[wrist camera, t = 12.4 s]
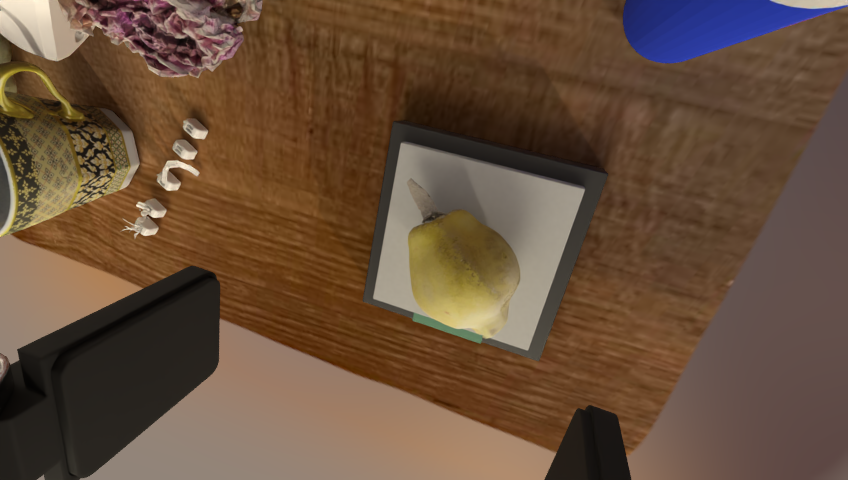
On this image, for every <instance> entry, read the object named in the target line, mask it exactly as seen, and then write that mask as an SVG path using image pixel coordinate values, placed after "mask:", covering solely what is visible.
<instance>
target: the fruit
mask: <svg viewBox="0 0 848 480" xmlns="http://www.w3.org/2000/svg"><path fill="white" fill-rule="evenodd" d="M407 185H408V187H409V190H410V193H411V195H412V197H413V200H414V202H415V203H416V205H417V207H418V209H419V210H420V211H421V215H422V217H423V221H422V223H424V224H421V225H418V226H416V227H413V228H412V230H411V231H410V232H409V235H408V247H409V268H410V277H411V287H412V292H413V296H414V298H415V301H416V303H417V304H418V306H419V307H420V308H421V309H422V311H423V312H425V313H426V314H427V315H428V316H430V317H431V318H433V319H435V320H437V321H439V322H441V323H443V324H445V325H447V326H450V327H453V328H455V329H463V328H471V329H473V330H474V331H475V332H476V333H477V334H482V335H483V336H482V337H483V338H485V339H487V338H490V337H493V336H494V335H495V334H496V333H498V332H499V331H500V330H501V329H502V328H503V327H504V325H505V324H506V322H507V320H508V313H509V303H510V299H511V297H512V296H513V294H514V293H515V291H516V289H517V287H518V285H519V282H520V267H519V263H518V260H517V257H516V255H515V253H514V251H513V249H512V248H511V247H510V245H509V244H508V243H507V242H506V240H505V239H504V238H503V237H502V236H501V235H500V234H499V233H498V232H496V231H495V230H493V229H491V228H490V227H488V226H486V225H483V224H482V223H480V222H479V221H478V220H477V219H476V218H475V217H474V216H473V215H472V214H470V213H469V212H467V211H466V210H464V209H455V210H452V211H451V212H449V213H443V212H440V211H438V209H437V208H436V206H435V203H434V201H433V200H432V198H431V197H430V195H429V194H428V193H427V191H426V190H425V189H423V188H422V187H421V186H420V185H418V184H417V183H416V182H415V181H414V180H413V179H412V178H410V179H409V180H408V181H407ZM435 219H436V220H435ZM433 220H434V221H433ZM425 221H429V223H425ZM430 221H432V222H430Z"/></svg>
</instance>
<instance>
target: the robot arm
mask: <svg viewBox="0 0 848 480" xmlns="http://www.w3.org/2000/svg"><path fill="white" fill-rule="evenodd" d="M219 319H220V283H219V281H218V280H217V278H216V275H215V274H214V273H213V272H210V271H207V270H204V269H202V268H199V267H196V266H190V267H187V268H185V269H183V270H181V271H179V272H177V273H175V274H173V275H171V276H169V277H167V278H164V279H162V280H160V281H158V282H156V283H154V284H152V285H150V286H148V287H146V288H144V289H142V290H140V291H138V292H136V293H134V294H131V295H129V296H127V297H125V298H123V299H121V300H119V301H117V302H115V303H113V304H111V305H109V306H106V307H104V308H102V309H101V310H98V311H96V312H94V313H92V314H90V315H88V316H86V317H84V318H82V319H80V320H77V321H76V322H73V323H71V324H69V325H67V326H65V327H63V328H61V329H59V330H57V331H55V332H53V333H51V334H49V335H46V336H44V337H42V338H40V339H38V340H36V341H34V342H32V343H30V344H28V345H26V346H24V347H22V348H20V349H17V351H18V355H19V361H17V362H15V363H13V364H11V365H10V363H9V361H8V358H7V357H6V356H4V355H3V354H1V353H0V480H37V479H38V478H39V477H41V476H42V475H43V474H44V477H45V480H79V479H80V478H85V477H88V476H90V475H92V474H93V473H94V472H96V471H97V470H98V469H99V468H100V467H102V466H103V465H104V464H105V463H106V462H108V461H109V460H110V459H111V458H112V457H114V456H115V455H116V454H117V453H118V452H120V451H121V450H122V449H123V448H124V447H126V446H127V445H128V444H129V443H130V442H131V441H133V440H134V439H135V438H136V437H137V436H138V435H140V434H141V433H142V432H143V431H145V430H146V429H147V428H148V427H149V426H151V425H152V424H153V423H154V422H155V421H157V420H158V419H159V418H160V417H161V416H163V415H164V414H165V413H166V412H167V411H168V410H170V409H171V408H172V407H173V406H175V405H176V404H177V403H178V402H179V401H181V400H182V399H183V398H184V397H185V396H186V395H188V394H189V393H190V392H191V391H192V390H194V389H195V388H196V387H197V386H198V385H200V384H201V383H202V382H203V381H204V380H206V379H207V378H208V377H209V376H210V375H211V374H212V373H213V372H214V371H215V369H216V368H217V365H218V362H219ZM545 480H631V476H630V471H629V467H628V462H627V457H626V453H625V448H624V444H623V439H622V435H621V430H620V426H619V421H618V418H617V415H616V414H614V413H611V412H608V411H605V410H603V409H600V408H597V407H594V406H591V405H589V406H588V407H587V408H586V409H585V410H583V409H580V408H578V409H577V410H576V412H575V414H574V416H573V418H572V420H571V423H570V425H569V427H568V429H567V431H566V434H565V436H564V438H563V440H562V442H561V445H560V447H559V449H558V451H557V453H556V456H555V458H554V460H553V462H552V464H551V467H550V469H549V471H548V473H547V475H546V477H545Z"/></svg>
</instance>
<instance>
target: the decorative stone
mask: <svg viewBox="0 0 848 480" xmlns="http://www.w3.org/2000/svg"><path fill="white" fill-rule="evenodd" d="M11 58H12V47H11V43H10V41H9V40H8V39H7V38H5V37H4V36H3V35H2V34H1V33H0V64H2V63H6V62H10V61H11ZM4 91H8V92H13V93H17V86H16V82H15V78H14V76H13V75H12V76H10V77H9V78H8V80H7V81H6V83H5V87H4Z"/></svg>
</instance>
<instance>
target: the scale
mask: <svg viewBox="0 0 848 480" xmlns="http://www.w3.org/2000/svg"><path fill="white" fill-rule="evenodd" d="M607 176H608V173H607V172H606V171H605V170H604V169H603V168H599V167H595V166H591V165H586V164H582V163H578V162H574V161H570V160H566V159H562V158H558V157H553V156H549V155H545V154H541V153H537V152H533V151H529V150H524V149H520V148H516V147H512V146H508V145H504V144H500V143H495V142H491V141H487V140H483V139H479V138H475V137H471V136H467V135H462V134H458V133H454V132H450V131H446V130H442V129H438V128H433V127H429V126H425V125H421V124H417V123H413V122H409V121H405V120H403V121H394V122H393V125H392V131H391V137H390V143H389V149H388V155H387V161H386V167H385V172H384V178H383V184H382V190H381V196H380V202H379V208H378V214H377V220H376V225H375V231H374V237H373V243H372V249H371V255H370V261H369V267H368V273H367V278H366V284H365V290H364V296H363V302H366V303H369V304H372V305H375V306H378V307H380V308H383V309H386V310H389V311H392V312H395V313H398V314H401V315H404V316H407V317H410V318H413V319H412V320H413V321H416V322H419V323H421V324H424V325H427V326H430V327H433V328H436V329H439V330H442V331H445V332H448V333H451V334H454V335H457V336H460V337H463V338H465V339H468V340H471V341H474V342H477V343H481V342H483V343H486V344H489V345H492V346H495V347H498V348H501V349H504V350H507V351H510V352H513V353H516V354H519V355H522V356H525V357H527V358H530V359H533V360H536V361H539V360H540V357H541V355H542V352H543V349H544V346H545V344H546V341H547V338H548V336H549V333H550V330H551V328H552V325H553V322H554V319H555V317H556V314H557V311H558V309H559V306H560V303H561V301H562V298H563V295H564V292H565V290H566V287H567V284H568V282H569V279H570V276H571V274H572V271H573V268H574V265H575V263H576V260H577V257H578V255H579V252H580V249H581V247H582V244H583V241H584V238H585V236H586V233H587V230H588V228H589V225H590V222H591V219H592V217H593V214H594V211H595V209H596V206H597V203H598V201H599V198H600V195H601V192H602V190H603V187H604V184H605V182H606V179H607ZM410 178H412V179H413V180H414V181H415V182H416V183H417V184H418V185H420V186H421V187H422V188H423V189H425V190H426V191H427V193H428V194H429V195H430V197H431V198H432V200H433V201H434V203H435V206H436V208H437V209H438V211H440V212H443V213H449V212H451V211H452V210H455V209H464V210H466V211H467V212H469V213H470V214H472V215H473V216H474V217H475V218H476V219H477V220H478V221H479V222H480V223H482V224H483V225H486V226H488V227H490V228H491V229H493V230H495V231H496V232H498V233H499V234H500V235H501V236H502V237H503V238H504V239H505V240H506V242H507V243H508V244H509V245H510V247H511V248H512V249H513V251H514V253H515V255H516V257H517V260H518V263H519V267H520V282H519V285H518V287H517V289H516V291H515V293H514V294H513V296H512V297H511V299H510V303H509V313H508V320H507V322H506V324H505V325H504V327H503V328H502V329H501V330H500V331H499V332H498V333H496V334H495V335H494V336H493V337H490V338H487V339H485V338H483V337H482V336H483V335H482V334H477V333H476V332H475V331H474V330H473V329H471V328H463V329H455V328H453V327H450V326H447V325H445V324H443V323H441V322H439V321H437V320H435V319H433V318H431V317H430V316H428V315H427V314H426V313H425V312H423V311H422V309H421V308H420V307H419V306H418V304H417V303H416V301H415V298H414V296H413V292H412V287H411V277H410V268H409V247H408V235H409V232H410V231H411V230H412V228H413V227H416V226H418V225H421V224H424V223H422V221H423V217H422V215H421V211H420V210H419V209H418V207H417V205H416V203H415V202H414V200H413V197H412V195H411V193H410V190H409V187H408V185H407V181H408V180H409V179H410ZM435 220H436V219H435ZM433 221H434V220H433ZM430 222H432V221H430ZM425 223H429V221H425Z"/></svg>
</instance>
